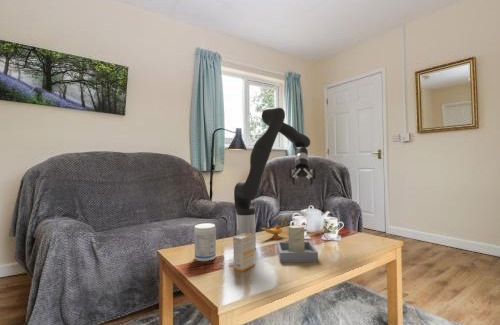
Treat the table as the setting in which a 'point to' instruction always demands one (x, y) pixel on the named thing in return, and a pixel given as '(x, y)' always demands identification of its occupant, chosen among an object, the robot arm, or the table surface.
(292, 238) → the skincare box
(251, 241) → the supplement box
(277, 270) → the table surface
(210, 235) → the supplement tub
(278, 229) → the magic lamp
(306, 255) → the bin
